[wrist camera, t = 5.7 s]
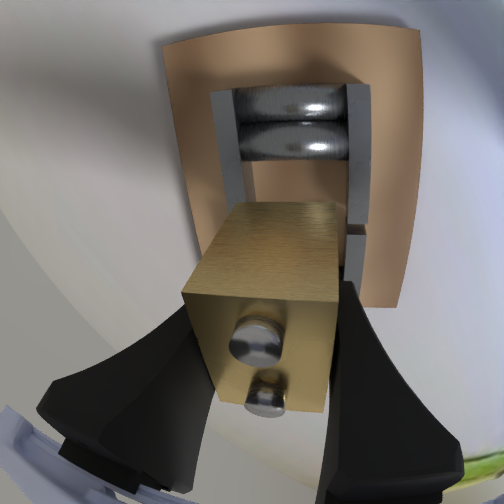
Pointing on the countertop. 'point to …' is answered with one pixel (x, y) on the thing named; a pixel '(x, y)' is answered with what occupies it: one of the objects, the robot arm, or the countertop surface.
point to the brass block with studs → (269, 305)
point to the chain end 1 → (295, 134)
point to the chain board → (310, 171)
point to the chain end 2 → (353, 254)
